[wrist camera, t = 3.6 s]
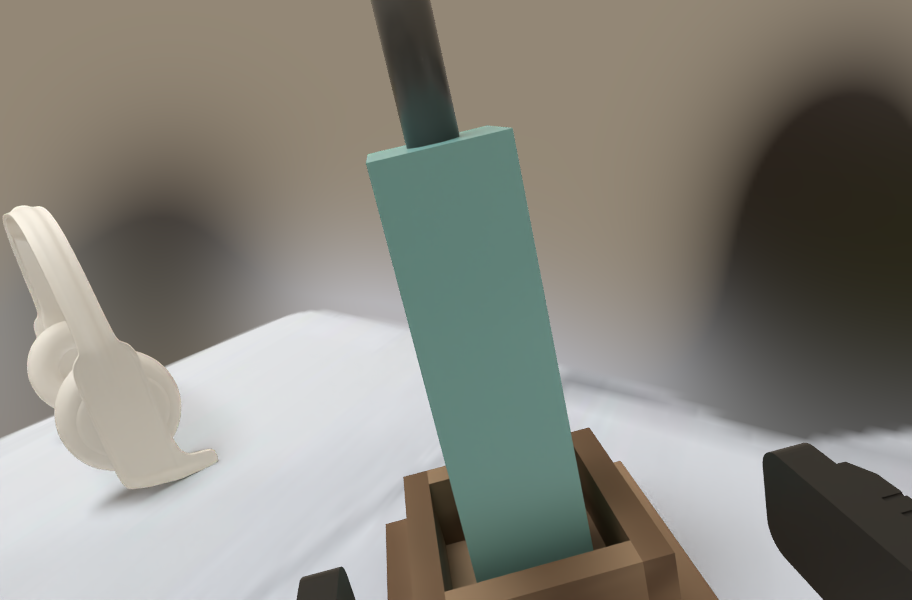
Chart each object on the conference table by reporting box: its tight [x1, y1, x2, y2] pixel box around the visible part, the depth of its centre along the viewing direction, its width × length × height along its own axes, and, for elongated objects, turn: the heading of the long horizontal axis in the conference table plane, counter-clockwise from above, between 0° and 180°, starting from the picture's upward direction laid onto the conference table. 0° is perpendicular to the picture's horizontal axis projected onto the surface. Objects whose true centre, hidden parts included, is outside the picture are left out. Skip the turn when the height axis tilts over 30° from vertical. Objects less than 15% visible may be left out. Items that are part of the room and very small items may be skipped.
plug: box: [366, 0, 593, 583], centre depth 20 cm, size 4×4×22 cm
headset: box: [2, 206, 218, 489], centre depth 43 cm, size 20×7×18 cm, turn 41°
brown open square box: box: [386, 428, 719, 600], centre depth 23 cm, size 11×11×4 cm
